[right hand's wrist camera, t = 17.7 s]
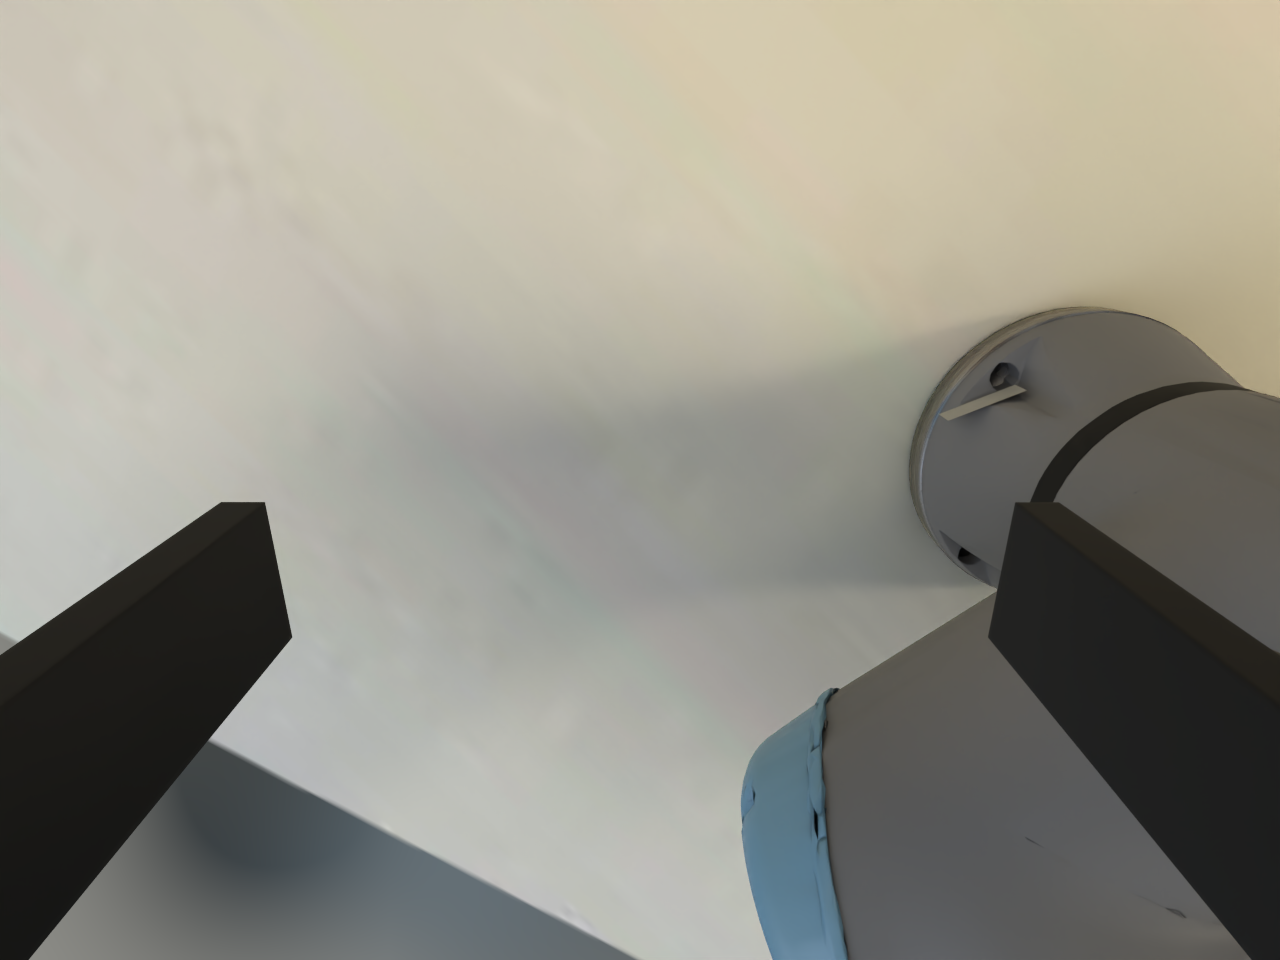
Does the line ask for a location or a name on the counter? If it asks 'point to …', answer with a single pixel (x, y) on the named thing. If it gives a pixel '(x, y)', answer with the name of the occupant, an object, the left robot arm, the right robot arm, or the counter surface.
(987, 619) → the right robot arm
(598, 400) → the counter surface
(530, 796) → the counter surface
